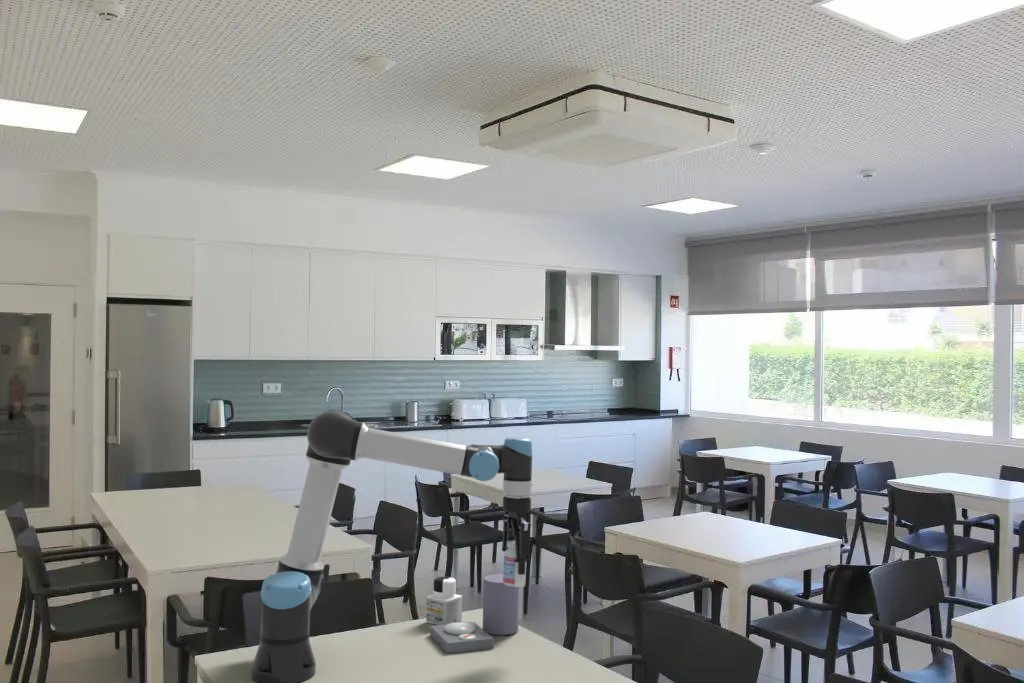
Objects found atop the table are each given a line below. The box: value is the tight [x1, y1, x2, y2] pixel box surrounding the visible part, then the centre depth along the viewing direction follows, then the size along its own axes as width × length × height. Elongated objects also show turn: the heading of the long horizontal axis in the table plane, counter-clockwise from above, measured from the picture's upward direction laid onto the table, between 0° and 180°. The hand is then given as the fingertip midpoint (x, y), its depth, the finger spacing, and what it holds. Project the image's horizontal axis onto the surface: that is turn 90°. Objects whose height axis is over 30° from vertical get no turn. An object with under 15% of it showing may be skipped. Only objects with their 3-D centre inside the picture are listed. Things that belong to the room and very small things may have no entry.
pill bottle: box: [502, 540, 527, 587], centre depth 226 cm, size 6×6×11 cm
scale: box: [429, 621, 494, 654], centre depth 234 cm, size 13×16×4 cm
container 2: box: [482, 573, 520, 637], centre depth 245 cm, size 10×10×15 cm
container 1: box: [425, 576, 463, 626], centre depth 253 cm, size 8×8×13 cm
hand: (514, 583), depth 226 cm, fingers closed on pill bottle, 6 cm apart
